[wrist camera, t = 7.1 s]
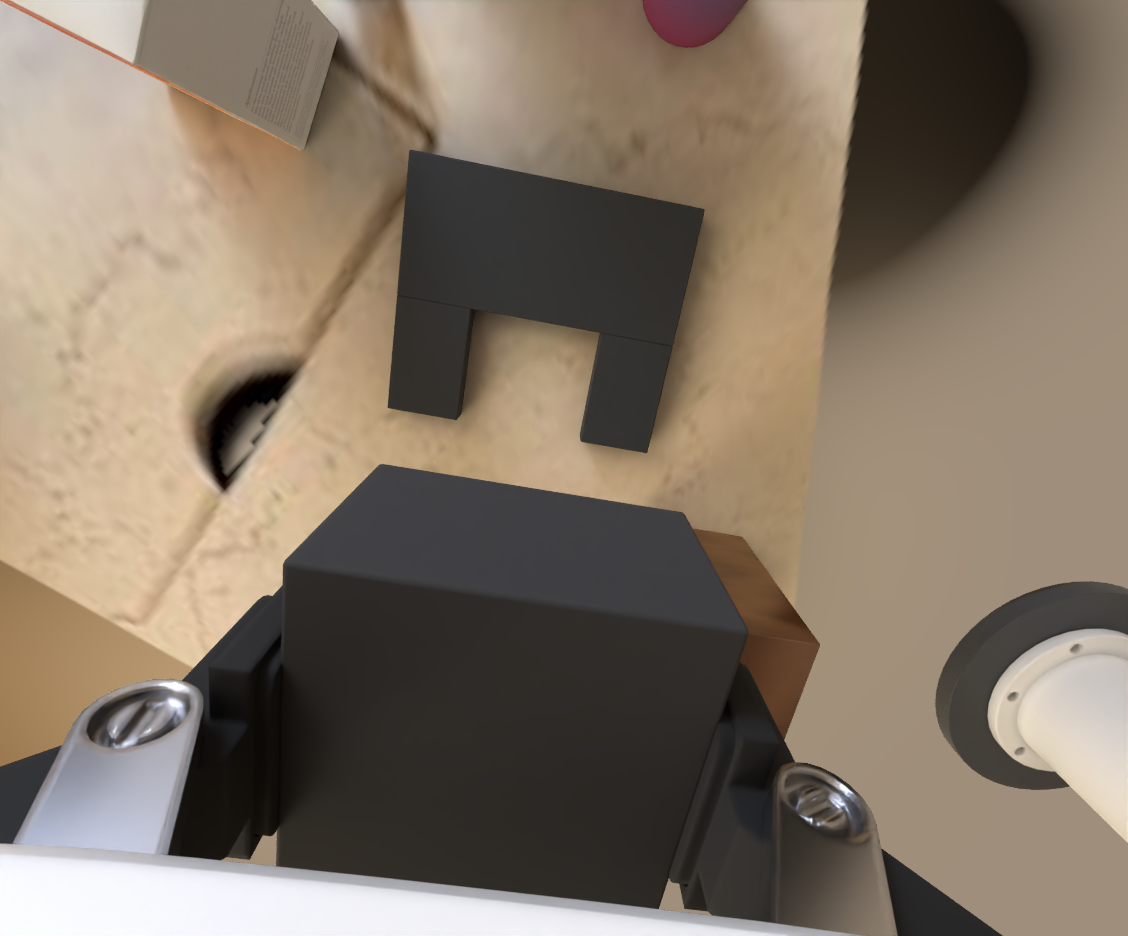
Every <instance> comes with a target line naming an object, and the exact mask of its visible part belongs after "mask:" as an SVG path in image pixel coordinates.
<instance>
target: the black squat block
mask: <svg viewBox="0 0 1128 936" xmlns="http://www.w3.org/2000/svg"><path fill="white" fill-rule="evenodd" d="M747 637H748V628H747V626H746V624H745V622H744V621H743V619H742V617H741V615H740V613H739V612H738V610H737V608H736V606H735V604H734V603H733V601H732V599H731V597H730V595H729V594H728V592H727V590H726V588H725V586H724V585H723V583H722V581H721V579H720V577H719V576H718V574H717V572H716V570H715V568H714V567H713V565H712V563H711V561H710V559H709V558H708V556H707V554H706V552H705V550H704V549H703V547H702V545H701V543H700V541H699V540H698V538H697V536H696V534H695V532H694V531H693V529H692V527H691V525H690V523H689V522H688V520H687V518H686V516H685V514H683V513H682V512H676V511H670V510H663V509H657V508H651V507H645V506H639V505H632V504H626V503H620V502H614V501H608V500H601V499H595V498H589V497H583V496H577V495H571V494H564V493H558V492H552V491H546V490H540V489H533V488H527V487H521V486H515V485H509V484H503V483H496V482H490V481H484V480H478V479H472V478H465V477H459V476H453V475H447V474H441V473H435V472H428V471H422V470H416V469H410V468H404V467H397V466H391V465H385V464H381V465H379V466H378V467H377V468H376V469H375V470H374V471H373V472H372V473H371V474H370V475H369V476H368V477H367V478H366V479H365V480H364V481H363V482H362V483H361V484H360V485H359V486H358V487H357V488H356V489H355V490H354V491H353V492H352V493H351V494H350V495H349V496H348V497H347V498H346V499H345V500H344V501H343V502H342V503H341V504H340V505H339V506H338V507H337V508H336V509H335V510H334V511H333V512H332V513H331V514H330V515H329V516H328V517H327V518H326V519H325V520H324V521H323V522H322V523H321V524H320V525H319V526H318V527H317V528H316V529H315V530H314V531H313V532H312V533H311V535H310V536H309V537H308V538H307V539H306V540H305V541H304V542H303V543H302V544H301V545H300V546H299V547H298V548H297V549H296V550H295V551H294V552H293V553H292V554H291V555H290V556H289V557H288V558H287V559H286V560H285V562H284V564H283V592H282V635H281V663H282V666H281V709H280V752H279V795H278V829H277V855H276V856H277V857H276V866H278V867H287V868H297V869H306V870H315V871H325V872H334V873H344V874H353V875H362V876H372V877H381V878H390V879H399V880H408V881H417V882H426V883H435V884H444V885H453V886H462V887H471V888H480V889H489V890H498V891H506V892H515V893H524V894H533V895H542V896H550V897H559V898H568V899H577V900H586V901H594V902H603V903H611V904H619V905H628V906H636V907H645V908H653V909H659V906H660V903H661V900H662V897H663V894H664V891H665V888H666V885H667V882H668V879H669V875H668V874H669V871H670V868H671V865H672V862H673V859H674V856H675V853H676V850H677V847H678V844H679V841H680V838H681V834H682V831H683V828H684V825H685V822H686V819H687V816H688V813H689V810H690V807H691V804H692V801H693V798H694V795H695V792H696V788H697V785H698V782H699V779H700V776H701V773H702V770H703V767H704V764H705V761H706V758H707V755H708V752H709V749H710V746H711V743H712V739H713V736H714V733H715V730H716V727H717V724H718V723H719V722H720V720H721V717H722V714H723V711H724V708H725V705H726V702H727V699H728V696H729V692H730V689H731V686H732V683H733V680H734V677H735V674H736V671H737V668H738V665H739V662H740V659H741V656H742V653H743V650H744V647H745V644H746V641H747Z"/></svg>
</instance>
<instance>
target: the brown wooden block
mask: <svg viewBox="0 0 1128 936" xmlns="http://www.w3.org/2000/svg"><path fill="white" fill-rule="evenodd" d="M693 531H694V532H695V534H696V536H697V538H698V540H699V541H700V543H701V545H702V547H703V549H704V550H705V552H706V554H707V556H708V558H709V559H710V561H711V563H712V565H713V567H714V568H715V570H716V572H717V574H718V576H719V577H720V579H721V581H722V583H723V585H724V586H725V588H726V590H727V592H728V594H729V595H730V597H731V599H732V601H733V603H734V604H735V606H736V608H737V610H738V612H739V613H740V615H741V617H742V619H743V621H744V622H745V624H746V626H747V628H748V637H747V641H746V644H745V647H744V650H743V653H742V656H741V659H740V662H741V664H744V665H746V666H747V668H748V669H749V671H750V673H751V675H752V677H753V679H754V681H755V683H756V685H757V687H758V689H759V691H760V693H761V695H762V697H763V699H764V701H765V703H766V705H767V707H768V709H769V711H770V713H771V715H772V717H773V719H774V721H775V723H776V725H777V727H778V729H779V731H780V733H781V735H782V737H783V739H785V736H786V734H787V731H788V728H789V726H790V723H791V721H792V718H793V715H794V713H795V710H796V707H797V705H798V702H799V699H800V697H801V694H802V692H803V689H804V686H805V683H806V681H807V678H808V675H809V673H810V670H811V668H812V665H813V662H814V660H815V657H816V654H817V652H818V649H819V647H820V644H819V642H818V641H817V640H816V638H815V637H814V635H813V634H812V633H811V631H810V630H809V629H808V627H807V626H806V624H805V623H804V622H803V620H802V619H801V618H800V616H799V615H798V613H797V612H796V611H795V609H794V608H793V606H792V605H791V604H790V602H789V601H788V600H787V598H786V597H785V595H784V594H783V593H782V591H781V590H780V589H779V587H778V586H777V584H776V583H775V582H774V580H773V579H772V577H771V576H770V575H769V573H768V572H767V571H766V569H765V568H764V566H763V565H762V564H761V562H760V561H759V560H758V558H757V557H756V555H755V554H754V553H753V551H752V550H751V549H750V547H749V546H748V544H747V543H746V542H745V540H744V539H743V537H739V536H733V535H727V534H721V533H715V532H709V531H703V530H697V529H693Z"/></svg>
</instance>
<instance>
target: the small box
mask: <svg viewBox="0 0 1128 936" xmlns="http://www.w3.org/2000/svg"><path fill="white" fill-rule="evenodd" d="M0 1H2V2H4V3H6V4H8V5H10V6H12V7H14V8H16V9H18V10H20V11H22V12H24V13H26V14H28V15H30V16H32V17H34V18H36V19H38V20H40V21H42V22H44V23H45V24H47V25H49V26H51V27H53V28H55V29H57V30H59V31H61V32H63V33H65V34H67V35H69V36H71V37H73V38H75V39H77V40H79V41H81V42H83V43H85V44H87V45H89V46H92V47H94V48H96V49H98V50H100V51H102V52H104V53H106V54H108V55H110V56H112V57H114V58H116V59H118V60H120V61H122V62H124V63H126V64H128V65H130V66H132V67H134V68H136V69H138V70H140V71H142V72H144V73H146V74H148V75H150V76H152V77H154V78H156V79H158V80H160V81H162V82H164V83H166V84H168V85H170V86H172V87H174V88H176V89H178V90H180V91H182V92H184V93H186V94H188V95H190V96H192V97H194V98H196V99H198V100H200V101H202V102H204V103H206V104H208V105H210V106H212V107H214V108H216V109H218V110H220V111H222V112H224V113H226V114H228V115H230V116H232V117H234V118H236V119H238V120H240V121H242V122H244V123H246V124H248V125H251V126H253V127H255V128H257V129H259V130H261V131H263V132H265V133H267V134H269V135H271V136H272V137H274V138H276V139H278V140H280V141H282V142H284V143H286V144H288V145H290V146H292V147H294V148H296V149H298V150H301V151H302V150H303V149H304V148H305V145H306V142H307V138H308V135H309V131H310V128H311V124H312V121H313V118H314V115H315V111H316V108H317V104H318V101H319V98H320V94H321V91H322V88H323V85H324V81H325V78H326V75H327V72H328V68H329V65H330V61H331V58H332V54H333V51H334V47H335V44H336V41H337V38H338V30H337V29H336V28H335V26H334V25H333V24H332V23H331V22H330V21H329V20H328V19H327V18H326V16H325V15H324V14H323V13H322V12H321V11H320V10H319V9H318V7H317V6H316V5H315V4H314V3H313V2H312V1H311V0H0Z"/></svg>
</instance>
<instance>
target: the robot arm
mask: <svg viewBox="0 0 1128 936" xmlns="http://www.w3.org/2000/svg"><path fill="white" fill-rule="evenodd" d="M282 592H283V585H282V587H281V588H280V589H279V590H278V591H277V592H276V593H275V594H274V595H273V596H269V595H267V596H263V597H261V598H260V599H259V600H258V601H257V602H256V603H255V604H254V605H253V606H252V607H251V608H250V609H249V610H248V611H247V612H246V613H245V614H244V616H243V617H242V618H241V619H240V620H239V621H238V622H237V623H236V624H235V625H234V626H233V627H232V628H231V629H230V630H229V631H228V632H227V634H226V635H225V636H224V637H223V638H222V639H221V640H220V641H219V642H218V643H217V644H216V645H215V646H214V647H213V648H212V649H211V650H210V652H209V653H208V654H207V655H206V656H205V657H204V658H203V659H202V660H201V661H200V662H199V663H198V664H197V665H196V666H195V667H194V668H193V669H192V671H191V672H190V673H189V674H188V675H187V676H186V677H185V678H184V679H183V680H182V681H180V680H175V679H152V680H147V681H142V682H136V683H133V684H130V685H127V686H124V687H121V688H118V689H116V690H114V691H112V692H110V693H108V694H106V695H104V696H102V697H100V698H98V699H97V700H96V701H94V702H93V703H92V704H91V705H89V706H88V707H87V708H86V709H84V710H83V711H82V712H81V714H80V715H79V716H78V718H77V719H76V720H75V722H74V723H73V725H72V727H71V729H70V731H69V733H68V735H67V737H66V739H65V741H64V743H63V745H62V746H59V747H56V748H53V749H50V750H47V751H44V752H41V753H38V754H35V755H33V756H30V757H27V758H24V759H21V760H19V761H15V762H12V763H10V764H7V765H4V766H1V767H0V936H1002V935H1001V934H999V933H998V932H997V931H995V930H994V929H992V928H991V927H990V926H988V925H987V924H985V923H984V922H983V921H981V920H980V919H978V918H977V917H976V916H974V915H973V914H971V913H970V912H969V911H967V910H966V909H965V908H963V907H962V906H960V905H959V904H958V903H956V902H955V901H954V900H952V899H951V898H949V897H948V896H947V895H945V894H944V893H942V892H941V891H940V890H938V889H937V888H935V887H934V886H933V885H931V884H930V883H929V882H927V881H926V880H924V879H923V878H922V877H920V876H919V875H917V874H916V873H915V872H913V871H912V870H910V869H909V868H908V867H906V866H905V865H903V864H902V863H901V862H899V861H898V860H897V859H895V858H894V857H892V856H891V855H890V854H888V853H887V852H886V851H884V850H883V849H881V845H880V840H879V835H878V829H877V824H876V822H875V819H874V816H873V814H872V811H871V810H870V808H869V807H868V805H867V804H866V802H865V801H864V799H863V798H862V797H861V796H860V795H859V794H858V793H857V792H856V791H855V790H854V789H853V788H852V787H851V786H850V785H849V784H847V783H846V782H844V781H843V780H842V779H840V778H839V777H838V776H836V775H835V774H833V773H831V772H829V771H827V770H825V769H823V768H821V767H818V766H814V765H811V764H808V763H796V762H795V761H794V759H793V757H792V755H791V753H790V751H789V749H788V747H787V745H786V743H785V741H784V739H783V737H782V735H781V733H780V731H779V729H778V727H777V725H776V723H775V721H774V719H773V717H772V715H771V713H770V711H769V709H768V707H767V705H766V703H765V701H764V699H763V697H762V695H761V693H760V691H759V689H758V687H757V685H756V683H755V681H754V679H753V677H752V675H751V673H750V671H749V669H748V668H747V666H746V665H744V664H741V662H739V665H738V668H737V671H736V674H735V677H734V680H733V683H732V686H731V689H730V692H729V696H728V699H727V702H726V705H725V708H724V711H723V714H722V717H721V720H720V722H719V723H718V724H717V727H716V730H715V733H714V736H713V739H712V743H711V746H710V749H709V752H708V755H707V758H706V761H705V764H704V767H703V770H702V773H701V776H700V779H699V782H698V785H697V788H696V792H695V795H694V798H693V801H692V804H691V807H690V810H689V813H688V816H687V819H686V822H685V825H684V828H683V831H682V834H681V838H680V841H679V844H678V847H677V850H676V853H675V856H674V859H673V862H672V865H671V868H670V871H669V874H668V875H669V878H670V880H671V882H673V883H679V884H680V889H681V894H682V899H683V904H684V908H685V909H692V910H701V911H708V912H709V913H710V914H711V915H703V914H695V913H687V912H677V911H669V910H661V909H653V908H645V907H636V906H628V905H619V904H611V903H603V902H594V901H586V900H577V899H568V898H559V897H550V896H542V895H533V894H524V893H515V892H506V891H498V890H489V889H480V888H471V887H462V886H453V885H444V884H435V883H426V882H417V881H408V880H399V879H390V878H381V877H372V876H362V875H353V874H344V873H334V872H325V871H315V870H306V869H297V868H287V867H278V866H268V865H258V864H249V863H240V862H231V861H221V860H222V859H224V858H225V857H231V858H239V859H248V860H249V859H250V858H251V856H252V854H253V852H254V851H255V849H256V847H257V845H258V843H259V841H260V839H261V837H262V836H263V835H265V836H272V835H273V834H274V833H275V832H276V830H277V829H278V795H279V752H280V709H281V666H282V663H281V635H282ZM988 722H989V728H990V730H991V732H992V735H993V737H994V739H995V740H996V741H997V742H998V744H999V745H1000V746H1001V747H1002V748H1003V749H1004V750H1005V751H1006V752H1007V753H1008V754H1009V755H1010V756H1011V757H1012V758H1013V759H1015V760H1016V761H1018V762H1020V763H1021V764H1023V765H1025V766H1028V767H1031V768H1034V769H1038V770H1044V771H1052V772H1054V771H1055V772H1056V773H1057V774H1058V775H1059V776H1060V777H1061V778H1062V779H1063V780H1064V781H1065V782H1066V783H1067V784H1068V785H1069V786H1070V787H1072V789H1073V790H1074V791H1076V792H1077V793H1078V794H1079V795H1080V796H1081V797H1082V798H1083V799H1084V800H1085V801H1086V802H1087V803H1088V804H1089V805H1090V806H1091V807H1092V808H1093V809H1094V810H1095V811H1096V812H1097V813H1098V814H1099V815H1100V816H1101V817H1102V818H1103V819H1104V820H1105V821H1106V822H1107V823H1108V824H1109V825H1110V826H1111V827H1112V828H1113V829H1114V830H1115V831H1116V832H1117V833H1118V834H1119V835H1120V836H1121V837H1122V838H1123V839H1124V840H1125V841H1126V842H1127V843H1128V635H1127V634H1124V633H1121V632H1119V631H1114V630H1108V629H1082V630H1077V631H1071V632H1067V633H1064V634H1061V635H1058V636H1054V637H1052V638H1049V639H1047V640H1045V641H1043V642H1041V643H1039V644H1037V645H1035V646H1034V647H1032V648H1031V649H1029V650H1028V651H1026V652H1025V653H1023V654H1022V655H1021V656H1020V657H1019V658H1017V659H1016V660H1015V661H1014V662H1013V663H1012V664H1011V665H1010V666H1009V667H1008V668H1007V670H1006V671H1005V672H1004V673H1003V674H1002V676H1001V677H1000V679H999V680H998V682H997V684H996V686H995V687H994V689H993V692H992V695H991V698H990V701H989V705H988Z"/></svg>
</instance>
